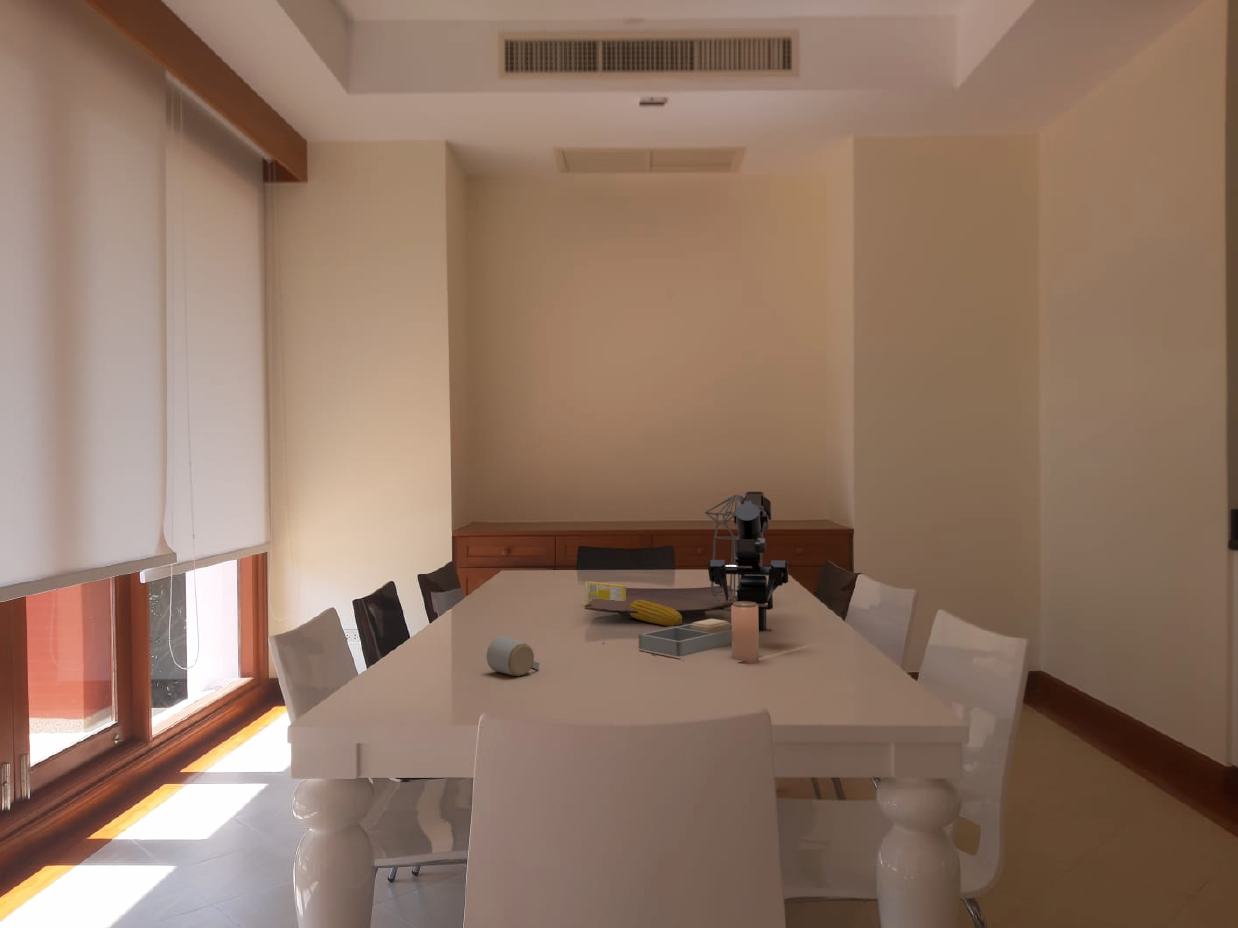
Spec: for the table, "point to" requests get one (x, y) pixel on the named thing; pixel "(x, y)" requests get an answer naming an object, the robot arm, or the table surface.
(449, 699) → the table surface
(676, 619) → the food
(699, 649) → the tray
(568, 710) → the table surface
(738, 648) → the pink beverage can
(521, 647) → the ceramic mug
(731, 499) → the geometric lantern
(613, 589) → the candy box
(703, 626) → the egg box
